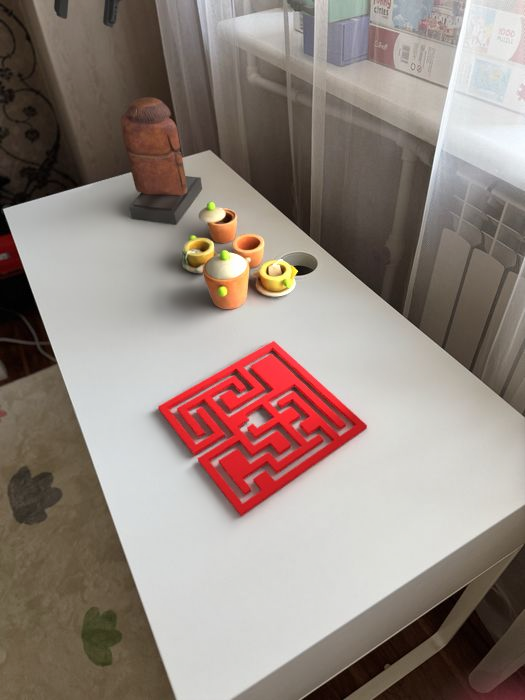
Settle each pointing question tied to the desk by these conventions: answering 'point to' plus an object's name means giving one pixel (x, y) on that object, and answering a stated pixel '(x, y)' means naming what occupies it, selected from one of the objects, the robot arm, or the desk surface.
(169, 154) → the wooden figurine
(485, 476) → the desk surface
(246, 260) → the toy tea set
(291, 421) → the maze puzzle
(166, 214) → the block
